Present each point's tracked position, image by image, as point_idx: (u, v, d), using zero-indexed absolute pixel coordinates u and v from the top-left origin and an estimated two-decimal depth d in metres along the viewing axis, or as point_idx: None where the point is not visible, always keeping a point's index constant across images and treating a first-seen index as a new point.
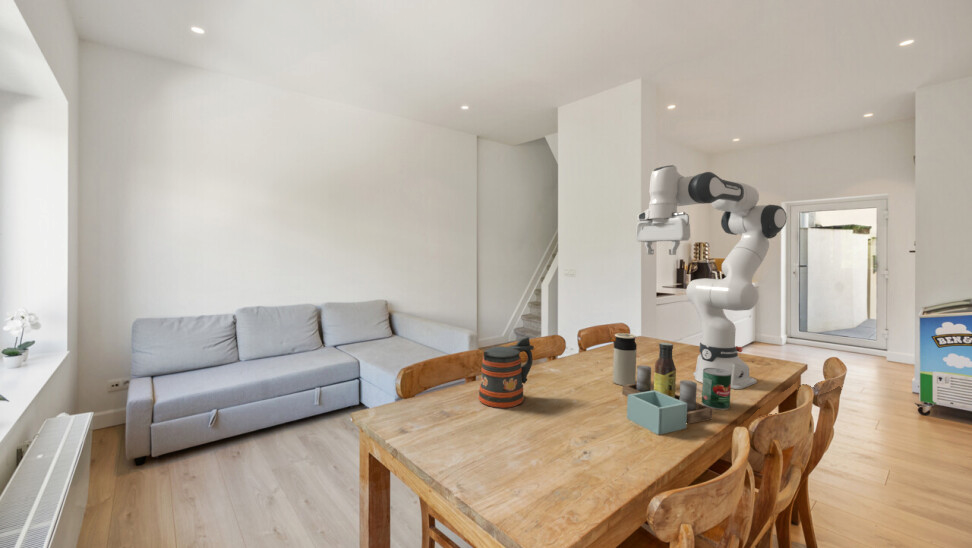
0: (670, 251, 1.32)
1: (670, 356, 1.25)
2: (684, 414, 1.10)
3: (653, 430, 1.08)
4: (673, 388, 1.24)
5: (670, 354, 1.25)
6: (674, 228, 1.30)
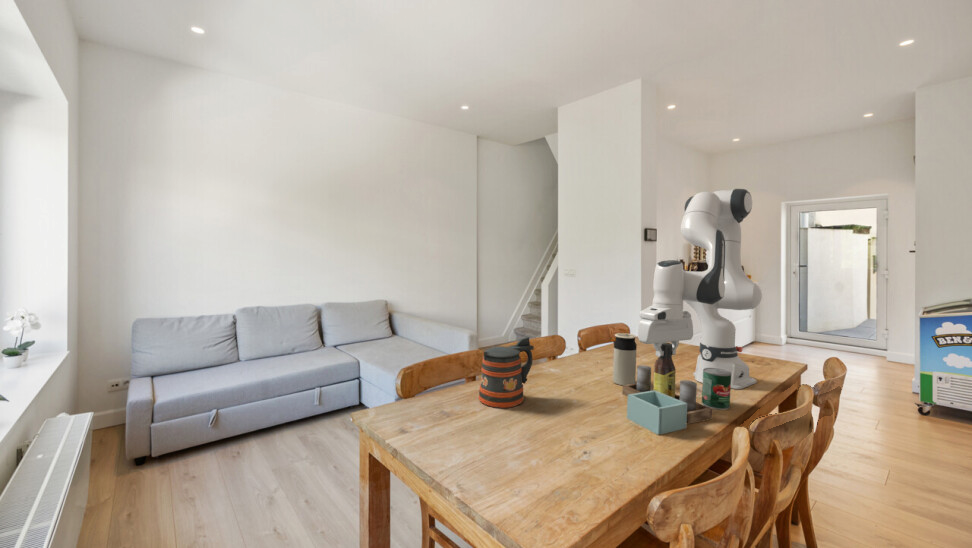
0: (673, 351, 1.27)
1: (669, 356, 1.25)
2: (684, 414, 1.10)
3: (653, 430, 1.08)
4: (673, 388, 1.24)
5: (669, 354, 1.25)
6: (686, 328, 1.27)
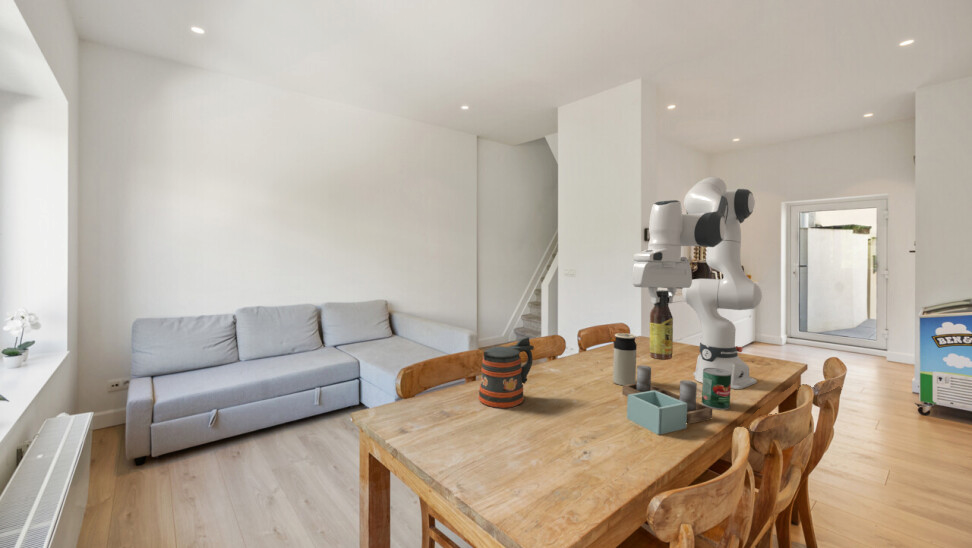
0: (670, 299, 1.17)
1: (666, 303, 1.15)
2: (684, 414, 1.10)
3: (653, 430, 1.08)
4: (670, 338, 1.14)
5: (666, 301, 1.15)
6: (684, 274, 1.17)
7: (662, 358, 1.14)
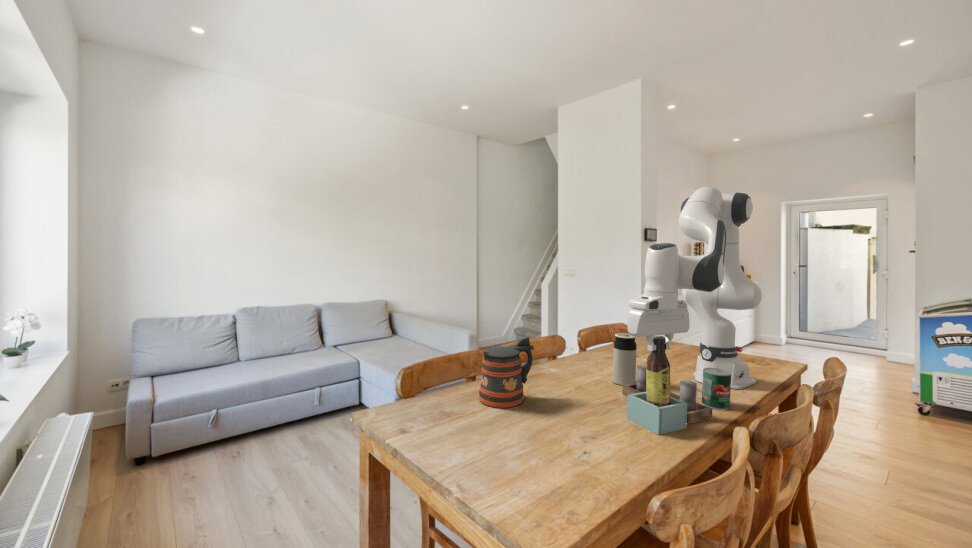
0: (667, 345, 1.13)
1: (663, 351, 1.11)
2: (684, 414, 1.10)
3: (653, 430, 1.08)
4: (668, 386, 1.11)
5: (663, 349, 1.11)
6: (681, 319, 1.13)
7: None
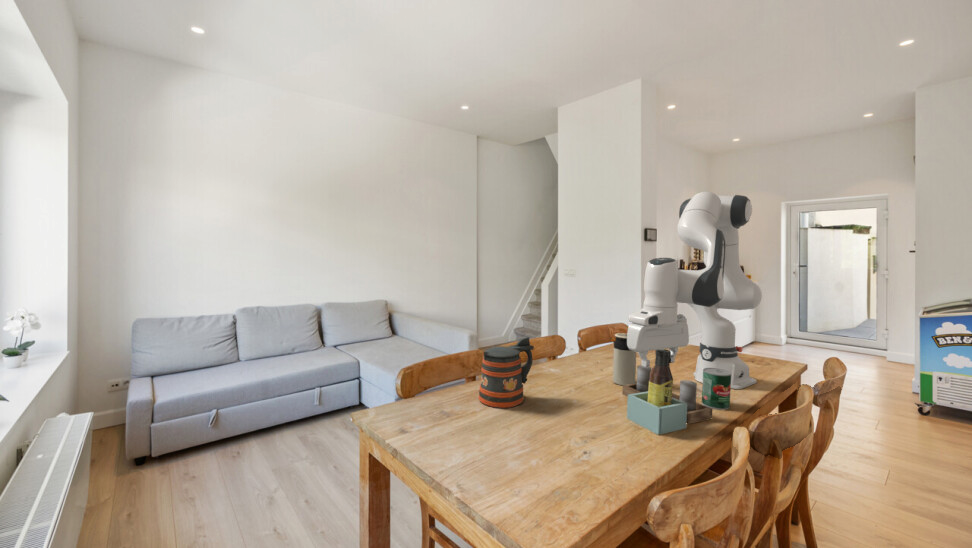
0: (672, 359, 1.14)
1: (667, 364, 1.12)
2: (684, 414, 1.10)
3: (653, 430, 1.08)
4: (669, 400, 1.11)
5: (667, 362, 1.12)
6: (681, 334, 1.13)
7: None
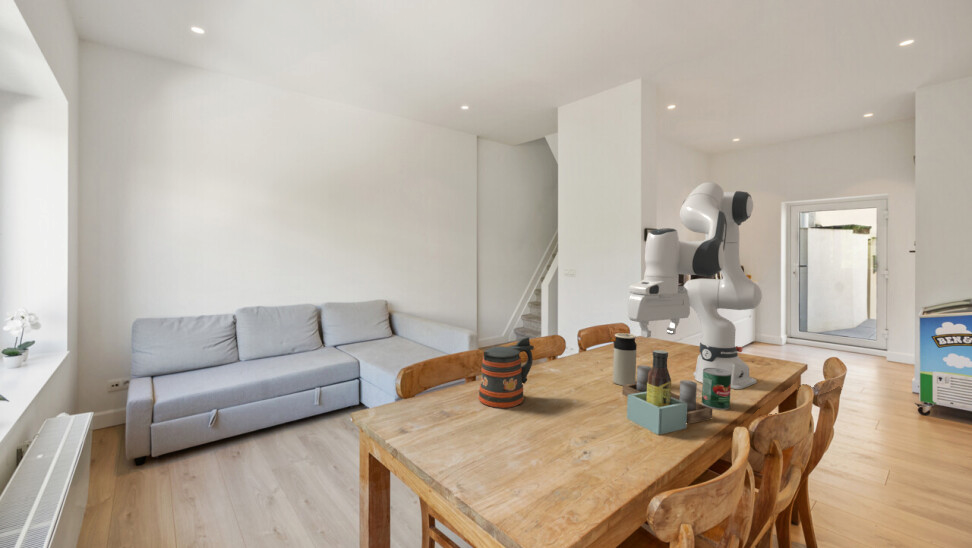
0: (673, 330, 1.13)
1: (665, 365, 1.12)
2: (684, 414, 1.10)
3: (653, 430, 1.08)
4: (668, 401, 1.12)
5: (665, 363, 1.12)
6: (682, 305, 1.13)
7: None
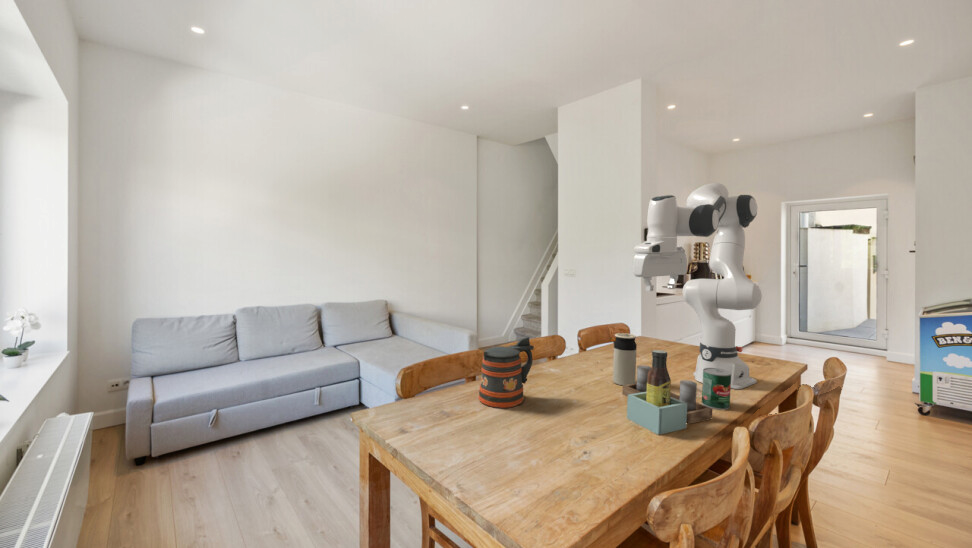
0: (673, 285, 1.29)
1: (664, 365, 1.12)
2: (684, 414, 1.10)
3: (653, 430, 1.08)
4: (667, 401, 1.12)
5: (664, 363, 1.12)
6: (680, 263, 1.29)
7: None
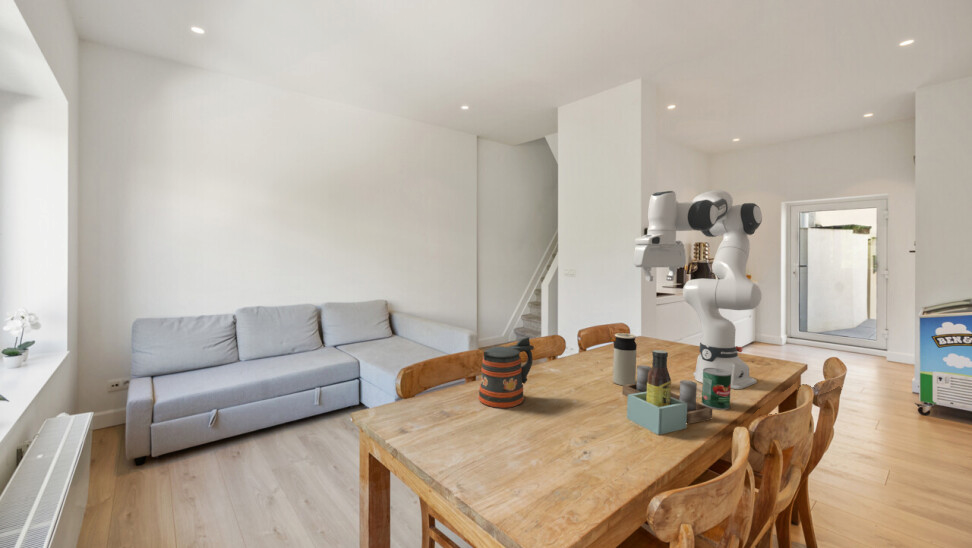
0: (672, 277, 1.35)
1: (664, 365, 1.12)
2: (684, 414, 1.10)
3: (653, 430, 1.08)
4: (668, 401, 1.12)
5: (664, 363, 1.12)
6: (679, 256, 1.35)
7: None
